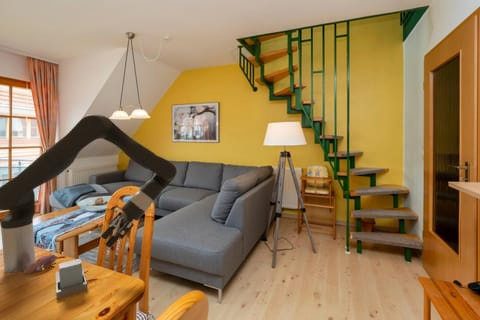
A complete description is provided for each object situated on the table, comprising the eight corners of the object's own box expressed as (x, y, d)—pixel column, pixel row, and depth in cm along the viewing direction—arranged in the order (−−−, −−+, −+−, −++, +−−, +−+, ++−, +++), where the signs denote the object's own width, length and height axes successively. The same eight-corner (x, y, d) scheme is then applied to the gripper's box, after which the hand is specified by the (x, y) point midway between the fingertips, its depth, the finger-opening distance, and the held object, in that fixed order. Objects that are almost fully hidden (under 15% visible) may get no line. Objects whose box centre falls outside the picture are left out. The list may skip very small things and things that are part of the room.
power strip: (56, 281, 87) (55, 270, 86) (82, 273, 92) (82, 263, 91) (57, 303, 75) (56, 291, 75) (87, 293, 80) (86, 281, 80)
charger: (60, 288, 80) (58, 263, 80) (81, 282, 84) (80, 258, 83) (60, 294, 77) (59, 269, 76) (83, 287, 81) (81, 263, 80)
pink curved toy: (30, 282, 89) (35, 266, 88) (20, 275, 90) (26, 260, 89) (55, 268, 99) (60, 254, 98) (46, 262, 99) (52, 248, 98)
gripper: (125, 195, 96) (93, 230, 90) (135, 203, 85) (99, 243, 78) (140, 206, 99) (109, 240, 93) (151, 215, 88) (118, 254, 82)
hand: (105, 241), depth 86 cm, fingers open, 8 cm apart
